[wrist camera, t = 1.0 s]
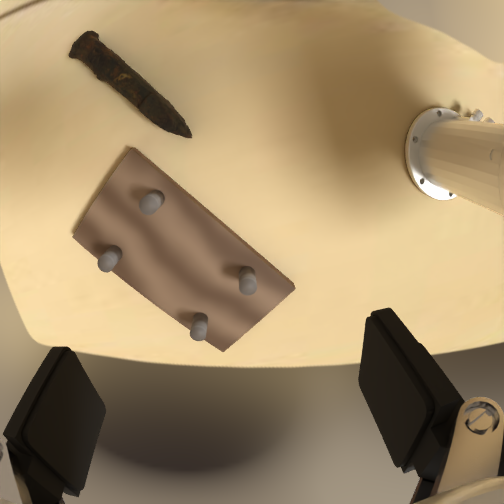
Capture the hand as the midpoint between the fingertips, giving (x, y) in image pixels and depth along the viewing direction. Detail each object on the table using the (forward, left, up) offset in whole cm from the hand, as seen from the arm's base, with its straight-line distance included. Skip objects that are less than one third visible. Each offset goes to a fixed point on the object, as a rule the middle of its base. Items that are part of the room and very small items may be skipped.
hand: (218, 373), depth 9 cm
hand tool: (-2, -17, -29) cm, 33 cm away
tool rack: (+11, +1, -28) cm, 30 cm away
